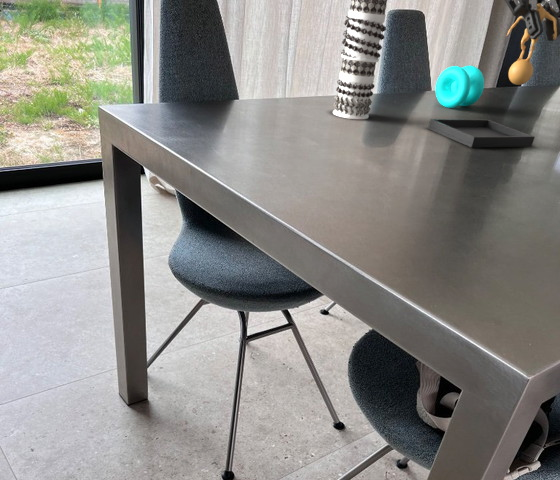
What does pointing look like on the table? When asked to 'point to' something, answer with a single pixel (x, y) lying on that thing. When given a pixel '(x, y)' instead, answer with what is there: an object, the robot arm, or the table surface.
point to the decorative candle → (359, 58)
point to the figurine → (523, 67)
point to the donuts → (459, 86)
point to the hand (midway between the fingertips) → (546, 36)
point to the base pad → (480, 133)
